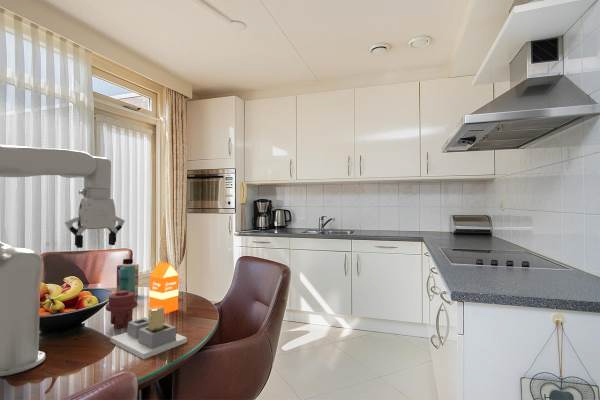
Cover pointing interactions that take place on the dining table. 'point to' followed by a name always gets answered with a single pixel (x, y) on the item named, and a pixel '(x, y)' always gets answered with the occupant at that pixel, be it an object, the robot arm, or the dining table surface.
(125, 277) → the beverage bottle
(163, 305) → the orange juice
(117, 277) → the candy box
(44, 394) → the dining table surface
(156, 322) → the brass pipe fitting
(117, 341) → the plate
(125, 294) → the mechanical component
